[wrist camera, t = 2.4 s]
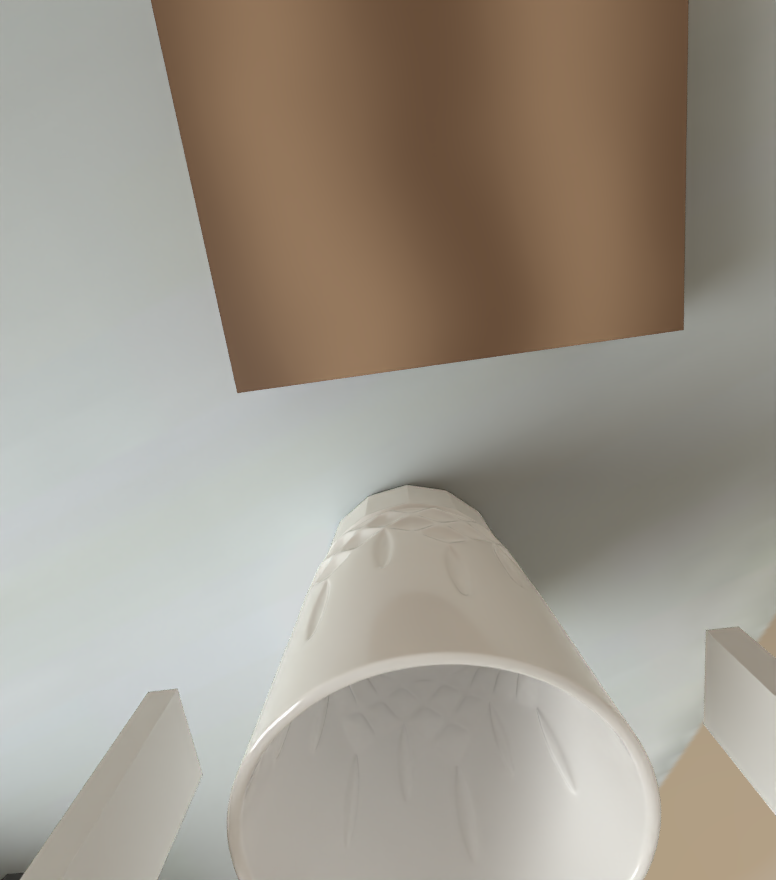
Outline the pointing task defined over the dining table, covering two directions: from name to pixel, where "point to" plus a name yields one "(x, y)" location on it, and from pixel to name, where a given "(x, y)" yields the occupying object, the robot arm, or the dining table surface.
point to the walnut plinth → (431, 176)
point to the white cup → (436, 722)
